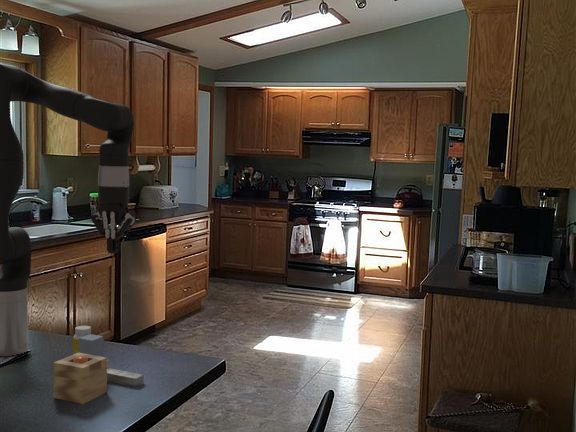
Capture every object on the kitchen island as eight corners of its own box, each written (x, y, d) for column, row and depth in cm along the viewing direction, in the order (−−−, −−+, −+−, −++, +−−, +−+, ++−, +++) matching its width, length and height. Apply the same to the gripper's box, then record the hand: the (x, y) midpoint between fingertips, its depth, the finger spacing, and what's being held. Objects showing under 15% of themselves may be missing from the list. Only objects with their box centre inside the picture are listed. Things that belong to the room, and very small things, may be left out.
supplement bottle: (80, 363, 167) (80, 331, 166) (69, 359, 170) (69, 327, 169) (96, 358, 171) (96, 327, 170) (85, 355, 173) (85, 324, 173)
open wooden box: (53, 397, 144) (53, 362, 143) (78, 386, 151) (78, 352, 150) (83, 404, 141) (83, 368, 140) (106, 391, 148) (106, 357, 147)
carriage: (73, 375, 157) (73, 338, 156) (88, 369, 162) (88, 332, 161) (93, 379, 154) (93, 342, 153) (108, 372, 160) (108, 336, 159)
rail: (73, 374, 158) (73, 366, 158) (82, 371, 161) (82, 363, 161) (136, 387, 151) (136, 378, 151) (143, 382, 154) (143, 374, 154)
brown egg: (70, 371, 144) (70, 358, 144) (79, 367, 147) (79, 354, 147) (81, 373, 143) (81, 360, 143) (90, 369, 146) (90, 356, 146)
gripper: (82, 183, 162) (82, 252, 163) (126, 186, 156) (125, 257, 158) (102, 182, 168) (101, 248, 170) (144, 185, 163) (143, 253, 165)
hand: (113, 252), depth 164 cm, fingers closed
